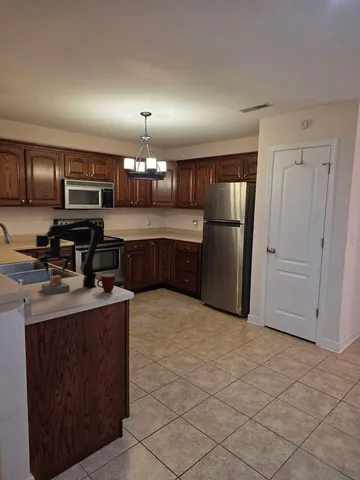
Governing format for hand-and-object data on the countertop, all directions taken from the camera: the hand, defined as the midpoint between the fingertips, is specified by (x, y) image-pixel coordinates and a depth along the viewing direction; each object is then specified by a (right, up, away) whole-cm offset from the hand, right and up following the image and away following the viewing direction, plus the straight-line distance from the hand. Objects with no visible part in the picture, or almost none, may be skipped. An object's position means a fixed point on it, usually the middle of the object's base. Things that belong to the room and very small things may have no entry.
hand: (55, 272), depth 185 cm
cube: (0, -7, +1) cm, 7 cm away
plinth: (0, -11, +1) cm, 11 cm away
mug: (+29, -12, +2) cm, 32 cm away
